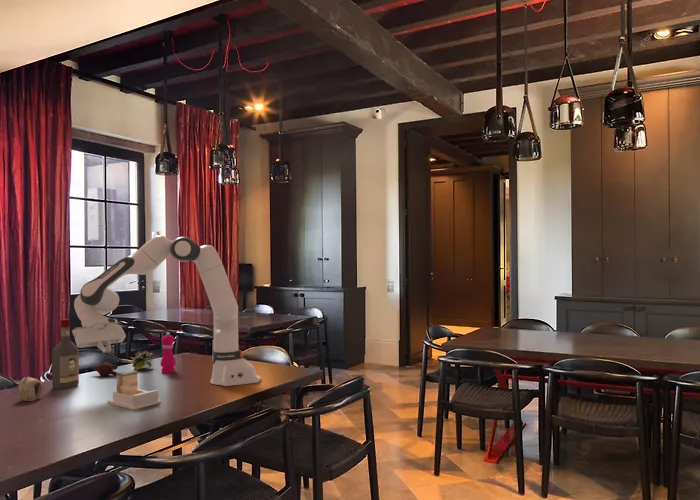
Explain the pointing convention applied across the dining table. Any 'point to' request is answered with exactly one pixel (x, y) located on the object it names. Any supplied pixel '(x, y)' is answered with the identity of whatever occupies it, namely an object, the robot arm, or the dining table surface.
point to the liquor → (65, 360)
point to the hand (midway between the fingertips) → (107, 351)
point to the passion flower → (141, 360)
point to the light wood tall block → (127, 382)
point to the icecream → (105, 369)
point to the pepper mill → (168, 354)
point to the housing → (135, 399)
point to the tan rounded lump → (29, 389)
